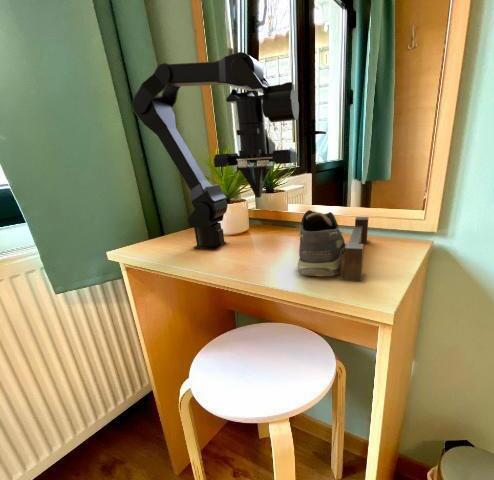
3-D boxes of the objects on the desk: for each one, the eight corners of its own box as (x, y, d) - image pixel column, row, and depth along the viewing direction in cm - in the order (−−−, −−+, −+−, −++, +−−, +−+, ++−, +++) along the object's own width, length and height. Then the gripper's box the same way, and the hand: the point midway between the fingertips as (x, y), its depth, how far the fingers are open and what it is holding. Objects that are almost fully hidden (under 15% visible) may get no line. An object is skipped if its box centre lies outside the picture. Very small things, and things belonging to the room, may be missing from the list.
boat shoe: (342, 239, 84) (343, 199, 80) (354, 281, 57) (357, 225, 53) (303, 239, 85) (302, 200, 81) (296, 281, 58) (295, 226, 54)
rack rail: (343, 280, 58) (344, 248, 55) (354, 240, 82) (356, 216, 80) (360, 281, 57) (362, 248, 54) (366, 240, 82) (368, 217, 79)
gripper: (302, 122, 71) (304, 191, 77) (231, 129, 76) (238, 193, 82) (287, 119, 61) (291, 198, 67) (207, 127, 67) (218, 199, 73)
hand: (258, 197), depth 73 cm, fingers closed
